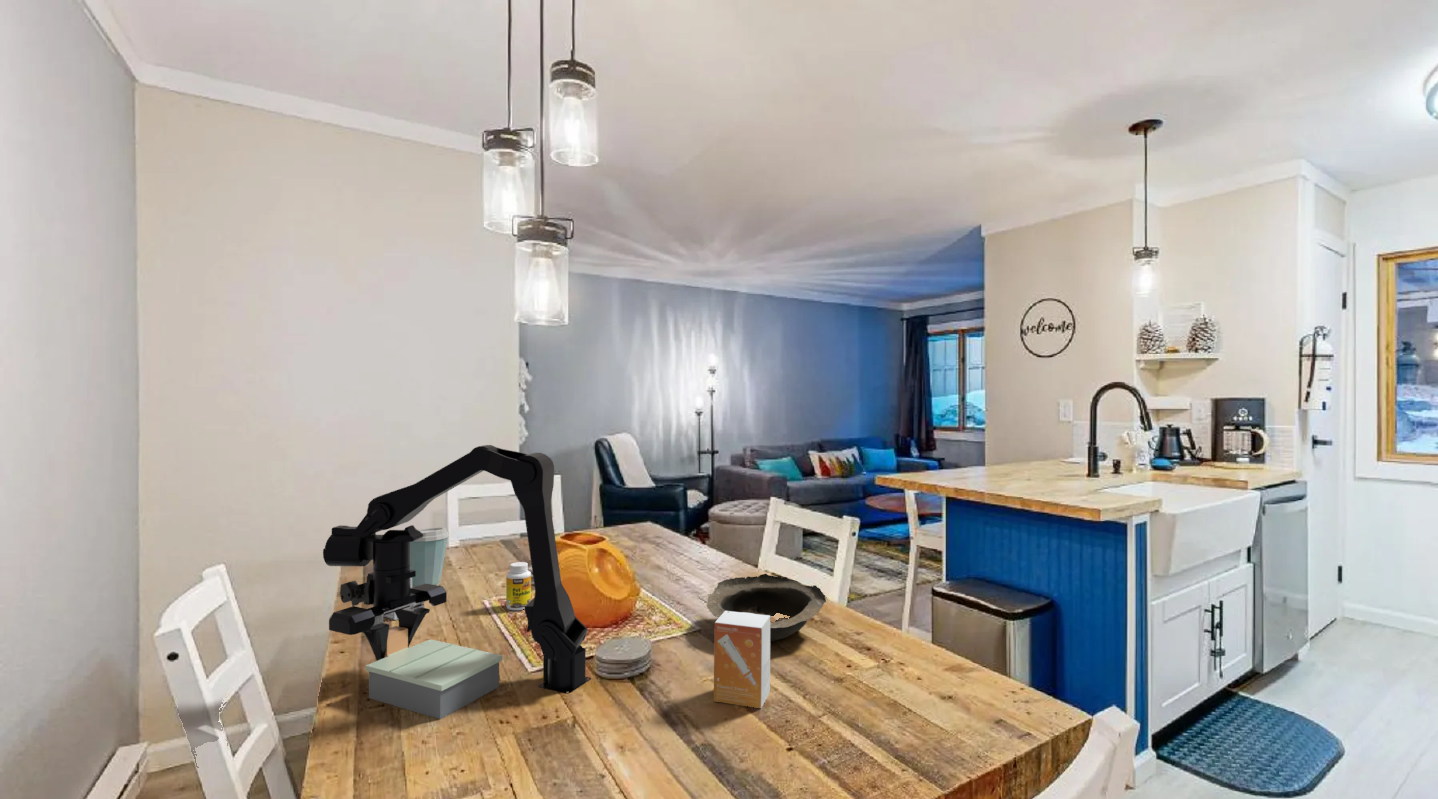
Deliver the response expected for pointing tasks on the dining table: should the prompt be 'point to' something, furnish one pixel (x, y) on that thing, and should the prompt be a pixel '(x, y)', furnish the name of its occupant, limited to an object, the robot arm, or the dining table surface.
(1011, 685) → the dining table surface
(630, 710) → the dining table surface
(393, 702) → the tub
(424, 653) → the lid
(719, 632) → the small box
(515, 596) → the supplement bottle
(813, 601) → the stone bowl
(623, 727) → the dining table surface
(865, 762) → the dining table surface
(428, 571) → the disposable coffee cup
